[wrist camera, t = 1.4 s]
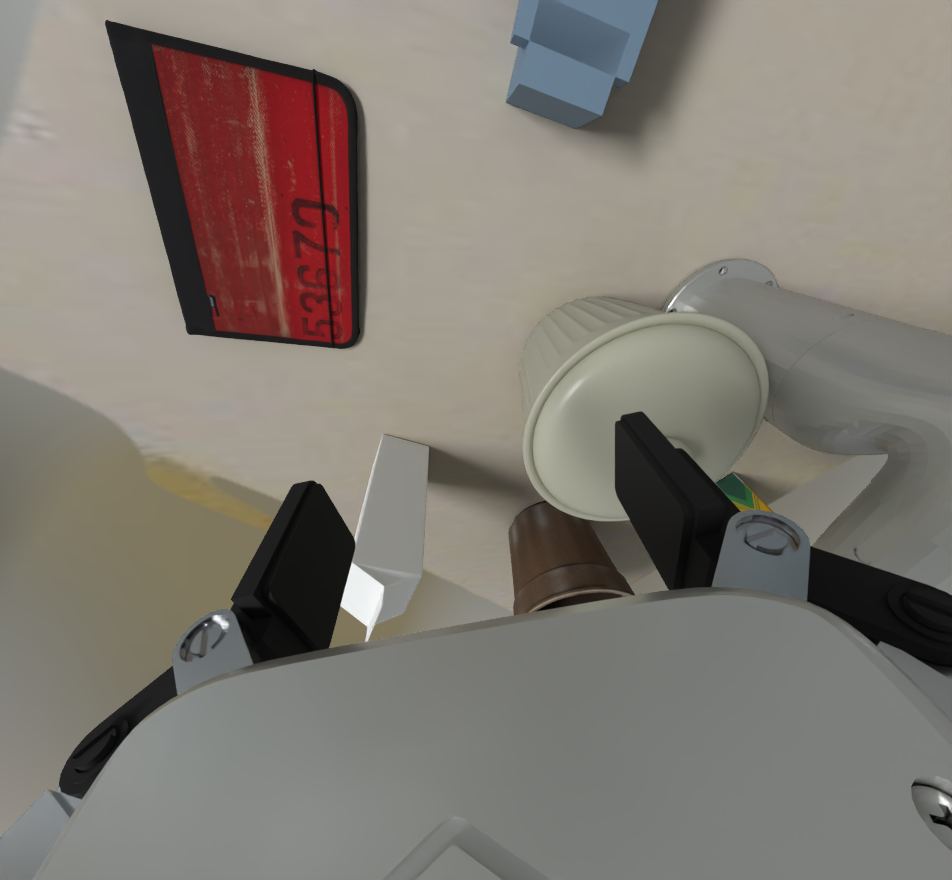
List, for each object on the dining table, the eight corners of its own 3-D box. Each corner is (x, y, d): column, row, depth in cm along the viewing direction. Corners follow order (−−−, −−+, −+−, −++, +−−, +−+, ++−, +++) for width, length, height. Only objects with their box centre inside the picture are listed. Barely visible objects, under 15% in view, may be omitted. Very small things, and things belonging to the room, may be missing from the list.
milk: (371, 469, 48) (325, 640, 29) (382, 432, 45) (338, 598, 26) (417, 480, 49) (399, 650, 31) (430, 445, 46) (420, 610, 28)
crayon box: (713, 483, 54) (772, 546, 44) (732, 471, 53) (797, 533, 43) (733, 506, 57) (792, 570, 47) (752, 495, 56) (816, 558, 46)
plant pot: (616, 533, 58) (667, 634, 45) (529, 575, 63) (552, 677, 49) (571, 471, 50) (618, 571, 37) (475, 523, 55) (485, 629, 41)
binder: (184, 335, 35) (95, 14, 23) (197, 328, 37) (120, 27, 25) (359, 354, 38) (355, 76, 26) (363, 346, 40) (360, 84, 28)
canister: (599, 441, 48) (690, 583, 30) (471, 399, 43) (491, 539, 26) (692, 308, 39) (895, 401, 21) (543, 236, 34) (649, 281, 17)
